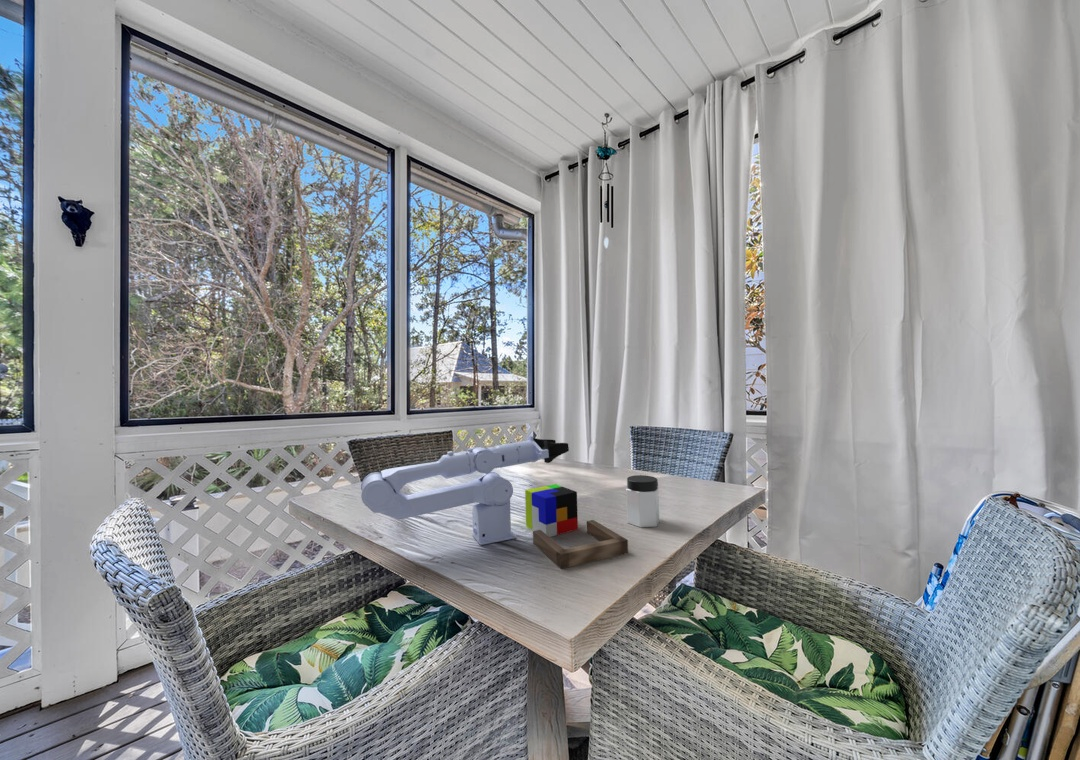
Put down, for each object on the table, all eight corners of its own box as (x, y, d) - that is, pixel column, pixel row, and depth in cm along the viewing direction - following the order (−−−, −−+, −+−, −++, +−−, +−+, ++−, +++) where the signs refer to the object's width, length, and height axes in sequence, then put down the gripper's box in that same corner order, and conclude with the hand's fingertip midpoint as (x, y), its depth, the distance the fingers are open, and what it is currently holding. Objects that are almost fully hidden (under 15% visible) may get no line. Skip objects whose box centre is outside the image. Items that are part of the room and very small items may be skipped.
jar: (666, 523, 111) (665, 479, 111) (646, 530, 106) (645, 484, 106) (640, 514, 118) (639, 473, 118) (620, 521, 114) (619, 477, 114)
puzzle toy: (546, 538, 103) (545, 498, 103) (526, 526, 112) (525, 489, 112) (577, 529, 109) (576, 491, 109) (556, 519, 117) (555, 484, 117)
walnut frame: (560, 568, 86) (560, 554, 86) (533, 543, 100) (532, 531, 100) (628, 553, 93) (627, 539, 93) (593, 531, 107) (593, 519, 107)
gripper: (523, 441, 101) (572, 433, 106) (504, 435, 114) (548, 428, 119) (526, 470, 101) (575, 460, 106) (507, 460, 114) (551, 452, 119)
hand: (561, 445), depth 113 cm, fingers open, 7 cm apart
